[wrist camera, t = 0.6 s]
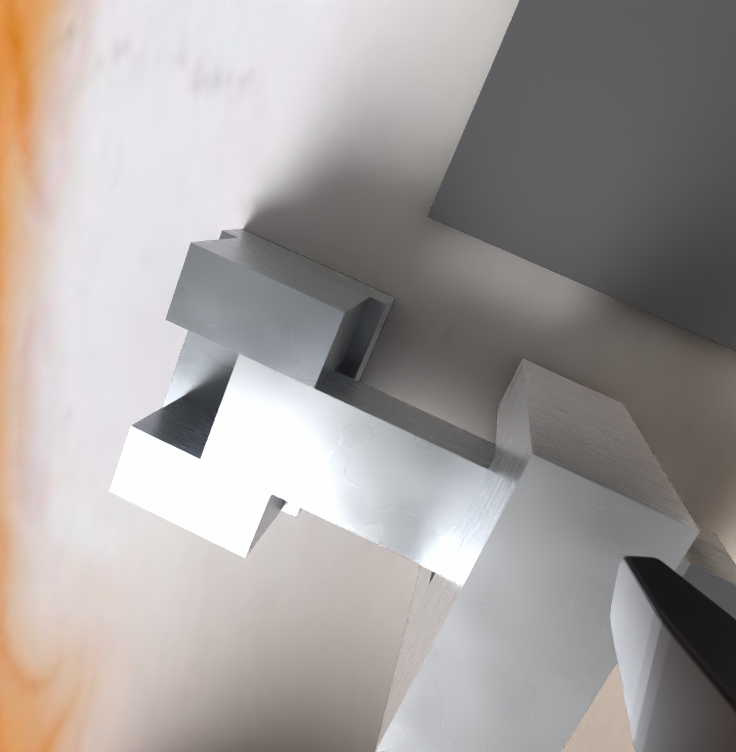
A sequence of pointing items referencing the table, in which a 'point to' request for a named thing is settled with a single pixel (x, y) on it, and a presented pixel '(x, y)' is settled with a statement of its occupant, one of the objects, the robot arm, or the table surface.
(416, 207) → the table surface
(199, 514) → the vise
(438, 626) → the brushed aluminum pillar
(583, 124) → the mat
